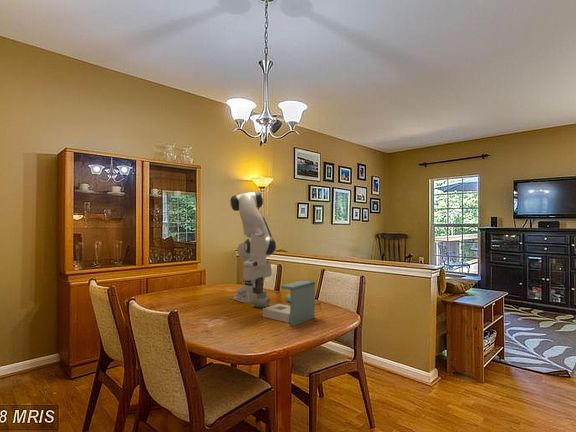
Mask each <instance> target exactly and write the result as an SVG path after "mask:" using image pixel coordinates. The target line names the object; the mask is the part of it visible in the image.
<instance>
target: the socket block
mask: <svg viewBox="0 0 576 432" xmlns="http://www.w3.org/2000/svg"><path fill="white" fill-rule="evenodd" d="M262 317H263V318H267V319H271V320H275V321H280V322H284V323H289V324H290V305H286V304H282V303H276V304H274V305H270V306H269V305H268V306H267V307H265V308H262Z"/></svg>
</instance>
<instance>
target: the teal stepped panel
mask: <svg viewBox="0 0 576 432" xmlns="http://www.w3.org/2000/svg"><path fill="white" fill-rule="evenodd" d="M280 288H281V289H282V290H289V291H290V292H289V293H290V302H289V304H290V305H289V306H290V323H289V326H292V327H294V326H297V325H299V324H301V323H304V322H307V321H309V320H311V319H314V318H315V309H316V308H315V301H316V300H315V299H316V298H315V292H316V282H315V281H309V280H299V281H294V282H290V283H287V284H286V283H285V284H282V285H281V286H280Z"/></svg>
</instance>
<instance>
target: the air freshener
mask: <svg viewBox="0 0 576 432" xmlns="http://www.w3.org/2000/svg"><path fill="white" fill-rule="evenodd" d="M270 303H271V299H270V298H269V297H267V290H266V289H264V290H263V293H261V294H257V297H256V298H254V300H253V303H252V305H254V306H255V307H256V308H261V309H263V308H264V307H265V308H266V307H269V305H270Z"/></svg>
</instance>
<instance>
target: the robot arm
mask: <svg viewBox="0 0 576 432" xmlns="http://www.w3.org/2000/svg"><path fill="white" fill-rule="evenodd" d="M263 205H264V196H263V193H261V192H260V191H251V192H245V193H244V192H243V193H239V194H237V195H236V194H235V195H232V196H231V197H230V201H229V206H230V208H231V209H232V210H233V211H234V212H239V216H240V219H241V222H242V228H243V229H242V230H243V234H244V236H246V237H247V239H245V241H243V242H241V243H239V244H238V246H237V248H236V252H237V253H236V254H237V256H238V257H239V258H240V259H241V260H242V261H243V266H244V267H243V269H242V270H243V271H242V279H243V282H244V283H243V285H242V286H240V287H239V288H238V289H237V290H236V295H235V296H233V297H232V300H234V301H238V302H241V303H244V304H253V300H254V298H256V297H257V294H255V293H253V287H254V288H255V287H257V284H255V279H258V278H259V277H263V286H265V285H264V283H265V279H266V278H269V277H272V274H273V273H272V265H271V262H270V260H267V257H270V256H271V255H272V254H273V253H275V252H276V248H277V245H276V241H275V239H274V237H273V235H272V233H271V231H270V228H269V225H268V223H267V221H266V219H265V217H264V216H263V215H262V214H260V211H258V210H259V209H260V208H261V207H262V206H263ZM263 290H265V288H263Z"/></svg>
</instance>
